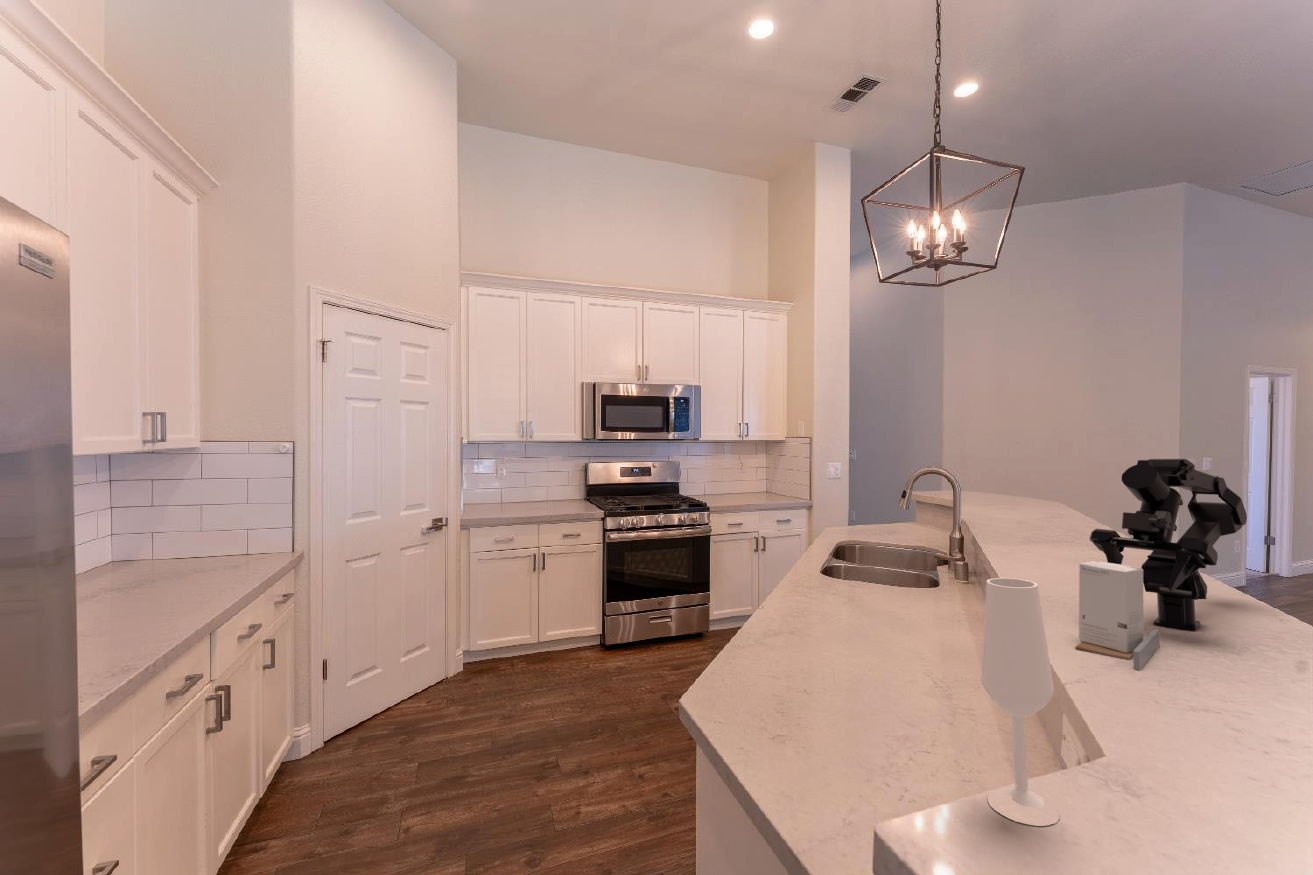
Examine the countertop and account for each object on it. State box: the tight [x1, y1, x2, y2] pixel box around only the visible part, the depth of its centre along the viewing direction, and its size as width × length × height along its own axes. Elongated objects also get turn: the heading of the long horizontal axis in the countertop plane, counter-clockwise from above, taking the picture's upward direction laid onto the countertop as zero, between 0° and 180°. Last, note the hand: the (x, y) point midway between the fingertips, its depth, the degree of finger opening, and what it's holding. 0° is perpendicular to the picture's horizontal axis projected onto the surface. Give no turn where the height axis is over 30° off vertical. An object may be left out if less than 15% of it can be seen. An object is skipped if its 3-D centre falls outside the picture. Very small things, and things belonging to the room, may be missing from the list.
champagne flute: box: [980, 577, 1055, 808], centre depth 64 cm, size 7×7×24 cm
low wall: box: [1132, 628, 1161, 671], centre depth 104 cm, size 16×1×3 cm, turn 130°
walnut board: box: [1074, 641, 1133, 661], centre depth 109 cm, size 11×8×1 cm
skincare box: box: [1078, 560, 1144, 653], centre depth 109 cm, size 8×6×15 cm
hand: (1140, 585), depth 114 cm, fingers open, 9 cm apart
